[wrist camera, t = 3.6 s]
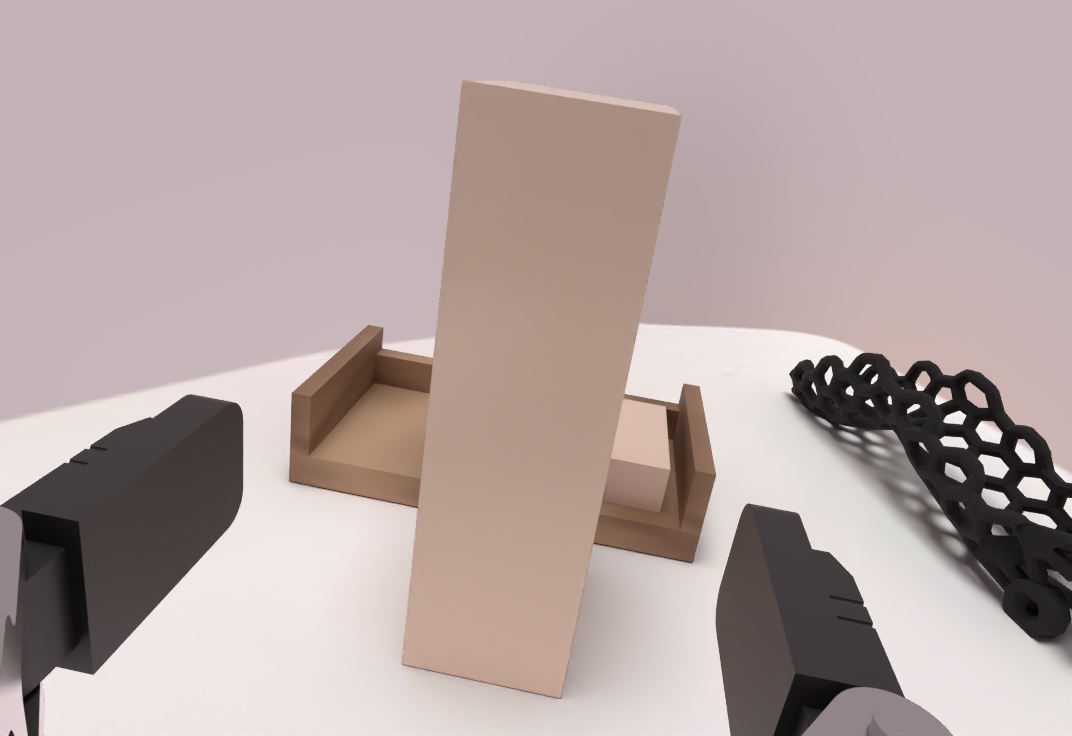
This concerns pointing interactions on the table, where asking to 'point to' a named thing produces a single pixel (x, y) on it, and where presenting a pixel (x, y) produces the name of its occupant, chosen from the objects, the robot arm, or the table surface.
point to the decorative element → (1006, 558)
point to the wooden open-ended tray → (399, 436)
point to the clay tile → (639, 457)
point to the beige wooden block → (529, 371)
